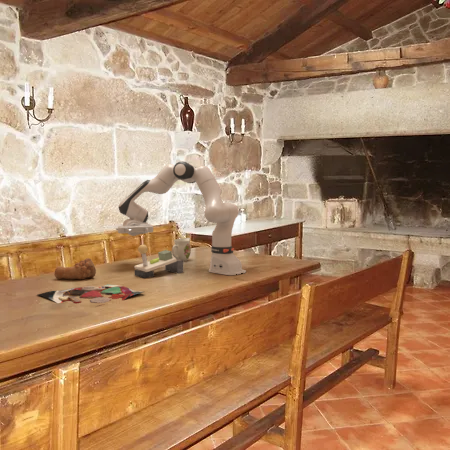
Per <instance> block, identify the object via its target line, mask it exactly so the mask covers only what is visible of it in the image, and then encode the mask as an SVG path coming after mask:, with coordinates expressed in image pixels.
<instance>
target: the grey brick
mask: <svg viewBox="0 0 450 450" xmlns="http://www.w3.org/2000/svg"><path fill="white" fill-rule="evenodd" d="M174 258H175V257H174ZM175 259H176V258H175ZM164 270H165V271H167V272H171V273H173V274H174V273H175V274H181V273H184V261H183V260H180V259H177V261H176V262H174V263H171V264H168V265H165V266H164ZM134 276H135V277H139V278H141V279H149V278H150V279H151V278H154V277H155V271H154V270H151V271H149V272H145V271H141V270H138V269H134Z"/></svg>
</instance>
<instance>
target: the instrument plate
mask: <svg viewBox="0 0 450 450" xmlns="http://www.w3.org/2000/svg"><path fill="white" fill-rule="evenodd" d="M137 250H138V253H140V254H141V259H142V263H140V264H137V265H134V270H137V269H138V270H141V271H145V272H149V271H154V270H156V269H160V268H162V267H165V265H168V264H171V263H174V262H176V261H177V259H175V257H173V254H172V250H171V251H170V250H167V249H165V250H162V251H159V252H157V254H158V257H156V258H153V259H150V260H148V258H147V252H148V250H149V249H148V246H147V245H146V244H140V245H139V246H138V248H137Z"/></svg>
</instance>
